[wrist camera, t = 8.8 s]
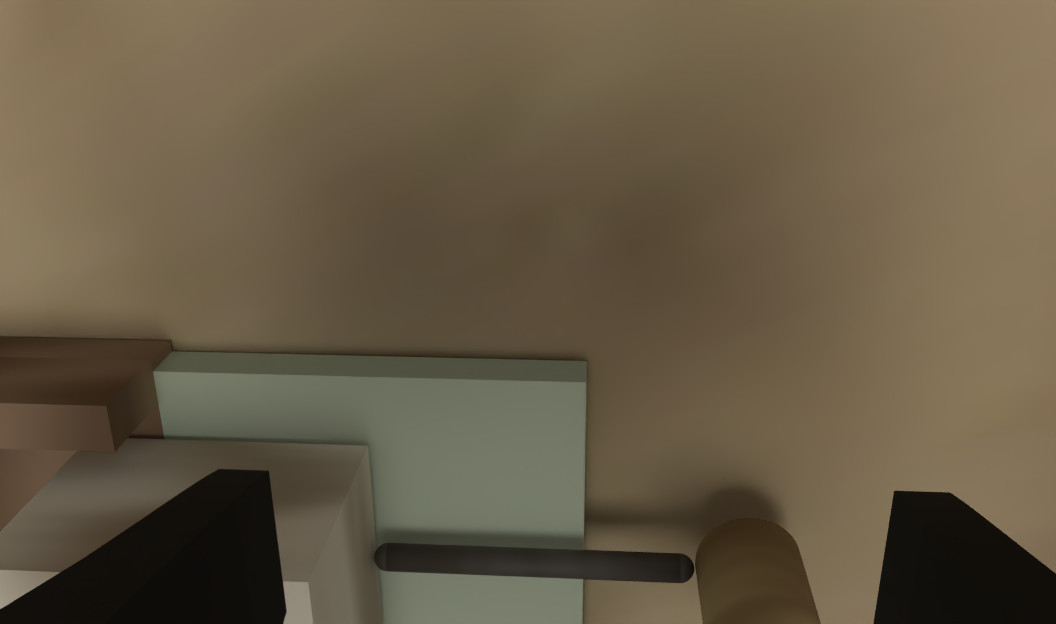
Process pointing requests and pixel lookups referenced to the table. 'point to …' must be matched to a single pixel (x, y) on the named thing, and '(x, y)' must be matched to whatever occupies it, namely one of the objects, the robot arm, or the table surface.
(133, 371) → the lane shelf
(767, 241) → the table surface
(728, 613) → the block rod cylinder assembly
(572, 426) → the pad
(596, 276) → the table surface
